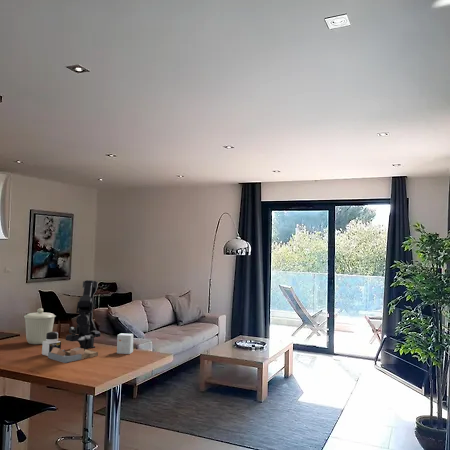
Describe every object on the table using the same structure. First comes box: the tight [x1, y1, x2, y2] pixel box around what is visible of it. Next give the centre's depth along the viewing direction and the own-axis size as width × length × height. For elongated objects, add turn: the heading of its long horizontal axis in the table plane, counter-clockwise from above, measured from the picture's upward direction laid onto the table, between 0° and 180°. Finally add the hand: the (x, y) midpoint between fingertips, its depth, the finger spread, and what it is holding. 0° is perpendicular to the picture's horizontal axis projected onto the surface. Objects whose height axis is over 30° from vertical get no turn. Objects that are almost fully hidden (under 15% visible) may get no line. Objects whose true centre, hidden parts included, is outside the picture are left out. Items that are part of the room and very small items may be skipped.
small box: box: [116, 332, 134, 355], centre depth 250 cm, size 8×6×10 cm
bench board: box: [65, 349, 99, 360], centre depth 240 cm, size 11×14×2 cm
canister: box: [23, 307, 57, 345], centre depth 269 cm, size 18×18×21 cm
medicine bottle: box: [41, 331, 62, 357], centre depth 240 cm, size 7×7×12 cm
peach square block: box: [69, 346, 84, 355], centre depth 233 cm, size 5×5×3 cm
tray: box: [47, 349, 82, 364], centre depth 231 cm, size 10×15×3 cm, turn 55°
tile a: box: [51, 347, 66, 356], centre depth 232 cm, size 5×5×3 cm
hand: (83, 351), depth 236 cm, fingers closed
